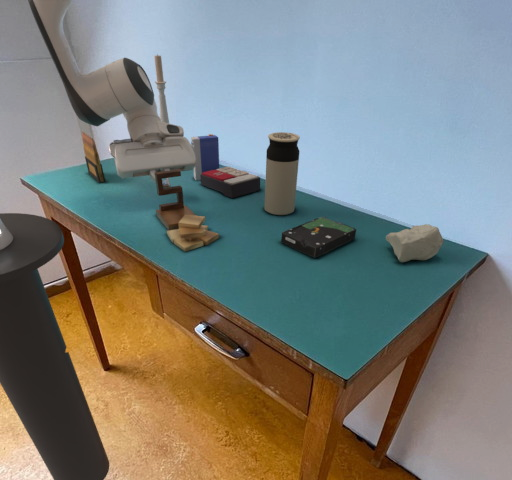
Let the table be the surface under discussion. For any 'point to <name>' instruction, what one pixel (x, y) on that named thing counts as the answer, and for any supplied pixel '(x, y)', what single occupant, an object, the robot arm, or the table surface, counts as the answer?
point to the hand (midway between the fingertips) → (164, 188)
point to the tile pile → (191, 233)
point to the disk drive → (318, 236)
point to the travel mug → (281, 173)
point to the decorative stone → (416, 242)
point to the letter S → (171, 211)
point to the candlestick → (161, 89)
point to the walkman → (205, 154)
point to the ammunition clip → (92, 158)
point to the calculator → (230, 181)
